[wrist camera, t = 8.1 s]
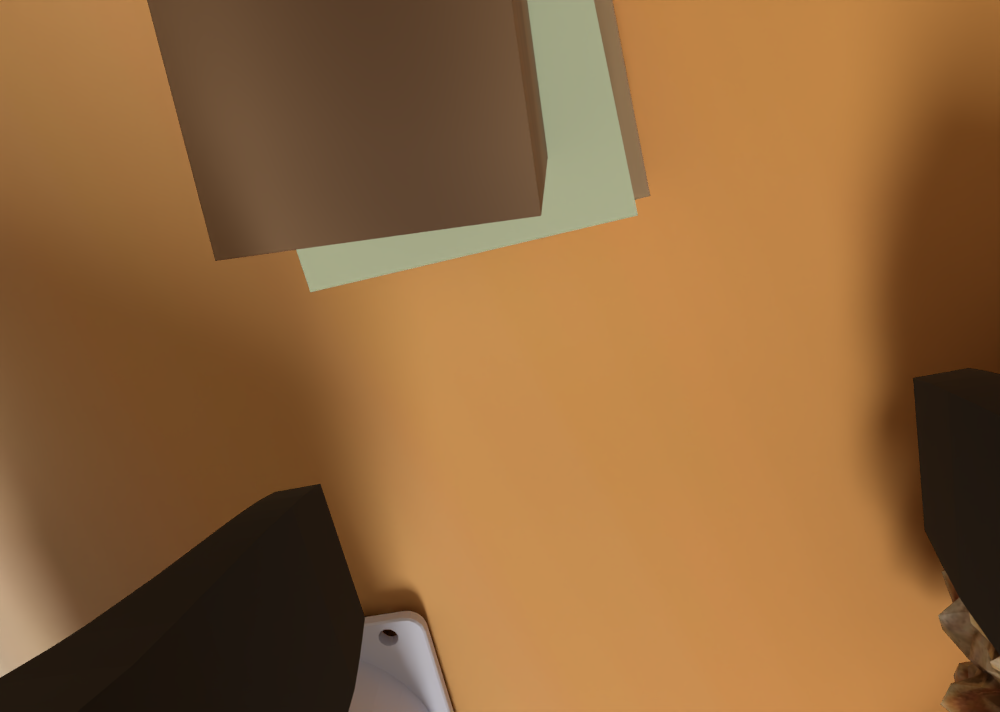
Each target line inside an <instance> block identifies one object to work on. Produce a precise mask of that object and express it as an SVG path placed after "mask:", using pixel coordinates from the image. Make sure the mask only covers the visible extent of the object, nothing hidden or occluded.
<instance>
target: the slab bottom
mask: <svg viewBox="0 0 1000 712" xmlns="http://www.w3.org/2000/svg"><path fill="white" fill-rule="evenodd" d="M594 3H595V8H596V13H597V18H598V23H599V28H600V33H601V38H602V43H603V48H604V52H605V57H606V62H607V67H608V72H609V77H610V82H611V87H612V92H613V96H614V101H615V106H616V111H617V116H618V121H619V126H620V131H621V136H622V140H623V145H624V150H625V155H626V160H627V165H628V170H629V175H630V180H631V185H632V189H633V194H634V199H639V198H644V197H648V196H650V192H649V187H648V182H647V177H646V172H645V166H644V161H643V156H642V151H641V146H640V141H639V136H638V130H637V125H636V120H635V115H634V110H633V105H632V99H631V94H630V89H629V84H628V79H627V74H626V69H625V63H624V58H623V53H622V48H621V43H620V38H619V32H618V27H617V22H616V17H615V12H614V7H613V2H612V0H594Z"/></svg>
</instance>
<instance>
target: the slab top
mask: <svg viewBox="0 0 1000 712" xmlns="http://www.w3.org/2000/svg"><path fill="white" fill-rule="evenodd" d="M527 3H528V10H529V18H530V25H531V33H532V40H533V48H534V56H535V63H536V71H537V78H538V86H539V93H540V101H541V108H542V116H543V123H544V131H545V138H546V146H547V154H548V160H547V169H546V178H545V187H544V195H543V204H542V213H541V216H536V217H529V218H522V219H515V220H507V221H500V222H493V223H486V224H478V225H471V226H464V227H457V228H449V229H442V230H435V231H428V232H420V233H413V234H406V235H399V236H392V237H384V238H377V239H370V240H363V241H355V242H348V243H341V244H334V245H326V246H319V247H312V248H305V249H297V250H296V251H297V254H298V257H299V260H300V263H301V266H302V269H303V272H304V275H305V277H306V280H307V283H308V286H309V289H310V292H314V291H318V290H322V289H327V288H331V287H335V286H339V285H344V284H348V283H352V282H356V281H361V280H365V279H369V278H373V277H378V276H382V275H386V274H390V273H395V272H399V271H403V270H407V269H412V268H416V267H420V266H424V265H429V264H433V263H437V262H441V261H446V260H450V259H454V258H458V257H463V256H467V255H471V254H475V253H480V252H484V251H488V250H492V249H497V248H501V247H505V246H509V245H514V244H518V243H522V242H526V241H531V240H535V239H539V238H543V237H548V236H552V235H556V234H560V233H565V232H569V231H573V230H578V229H582V228H586V227H590V226H595V225H599V224H603V223H607V222H612V221H616V220H620V219H624V218H629V217H633V216H637V215H638V214H637V209H636V204H635V199H634V194H633V189H632V185H631V180H630V175H629V170H628V165H627V160H626V155H625V150H624V145H623V140H622V136H621V131H620V126H619V121H618V116H617V111H616V106H615V101H614V96H613V92H612V87H611V82H610V77H609V72H608V67H607V62H606V57H605V52H604V48H603V43H602V38H601V33H600V28H599V23H598V18H597V13H596V8H595V3H594V0H527Z"/></svg>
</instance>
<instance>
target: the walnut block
mask: <svg viewBox="0 0 1000 712" xmlns="http://www.w3.org/2000/svg"><path fill="white" fill-rule="evenodd" d="M147 2H148V5H149V9H150V13H151V17H152V21H153V24H154V28H155V32H156V36H157V40H158V43H159V47H160V51H161V55H162V59H163V63H164V66H165V70H166V74H167V78H168V82H169V85H170V89H171V93H172V97H173V101H174V104H175V108H176V112H177V116H178V120H179V124H180V127H181V131H182V135H183V139H184V143H185V146H186V150H187V154H188V158H189V162H190V165H191V169H192V173H193V177H194V181H195V184H196V188H197V192H198V196H199V200H200V204H201V207H202V211H203V215H204V219H205V223H206V226H207V230H208V234H209V238H210V242H211V245H212V249H213V253H214V257H215V261H218V260H225V259H232V258H239V257H247V256H254V255H261V254H268V253H276V252H283V251H290V250H297V249H305V248H312V247H319V246H326V245H334V244H341V243H348V242H355V241H363V240H370V239H377V238H384V237H392V236H399V235H406V234H413V233H420V232H428V231H435V230H442V229H449V228H457V227H464V226H471V225H478V224H486V223H493V222H500V221H507V220H515V219H522V218H529V217H536V216H541V213H542V204H543V195H544V187H545V178H546V169H547V160H548V154H547V146H546V138H545V131H544V123H543V116H542V108H541V101H540V93H539V86H538V78H537V71H536V63H535V56H534V48H533V40H532V33H531V25H530V18H529V10H528V3H527V0H147Z"/></svg>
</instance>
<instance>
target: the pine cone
mask: <svg viewBox="0 0 1000 712" xmlns="http://www.w3.org/2000/svg"><path fill="white" fill-rule="evenodd" d="M942 574H943V577H944V580H945V583H946V585H947V588H948V591H949V593H950V596H951V599H952V602H953V603H952V604H951V605H950V606H949V607H948V608H946V609H945V610H944V611H943V612H942V613H941V614H939V615H938V616H939V619H940V622H941V626H942V629H943V630H944V632H945V633H946V634H947V635H948V636H949V637H950V638H951V640H952V641H953V642H954V643H955V644H956V645H957V646H958V647H959V649H960V650H961V651H962V652H963V653H964V654H965V655H966V657H967V658H968V659H969V660H970V662H964V663H959V665H958V667H957V669H956V671H955V673H954V679H955V683H951V685H950V687H949V689H948V691H947V693H946V695H945V696H944V698H943V700H942V702H941V705H942V706H943V707H945V708H946V709H947V710H948V711H949V712H1000V655H999V654H998V652H997V651H996V649H995V648H994V647H993V645H992V644H991V642H990V641H989V640H988V638H987V637H986V635H985V634H984V633H983V631H982V630H981V628H980V627H979V625H978V624H977V623H976V621H975V620H974V618H973V617H972V615H971V614H970V613H969V611H968V610H967V608H966V607H965V605H964V604H963V602H962V601H961V599H960V598H959V596H958V594H957V592H956V590H955V588H954V586H953V585H952V583H951V581H950V579H949V577H948V575H947V573H946V571H945V570H944V571H942Z"/></svg>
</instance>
